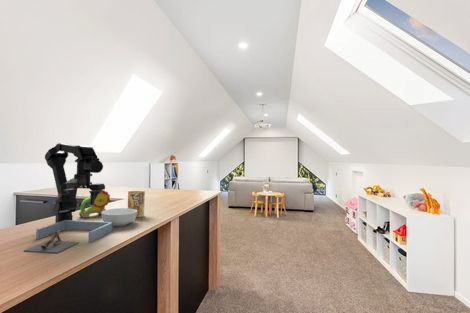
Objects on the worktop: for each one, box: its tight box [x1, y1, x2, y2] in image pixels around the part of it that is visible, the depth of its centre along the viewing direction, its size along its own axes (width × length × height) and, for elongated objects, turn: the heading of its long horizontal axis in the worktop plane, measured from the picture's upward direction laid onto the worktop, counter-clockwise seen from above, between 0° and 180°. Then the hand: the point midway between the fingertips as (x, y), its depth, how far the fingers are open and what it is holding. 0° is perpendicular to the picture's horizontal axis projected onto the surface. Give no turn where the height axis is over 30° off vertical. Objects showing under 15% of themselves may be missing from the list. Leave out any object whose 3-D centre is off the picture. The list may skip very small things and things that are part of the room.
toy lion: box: [78, 189, 111, 219], centre depth 145 cm, size 16×6×15 cm, turn 144°
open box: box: [35, 219, 114, 243], centre depth 109 cm, size 24×16×4 cm, turn 86°
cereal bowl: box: [101, 207, 137, 227], centre depth 127 cm, size 17×17×7 cm
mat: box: [23, 240, 80, 254], centre depth 93 cm, size 13×11×1 cm
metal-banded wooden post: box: [41, 231, 62, 250], centre depth 93 cm, size 2×8×4 cm, turn 176°
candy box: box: [127, 190, 146, 218], centre depth 145 cm, size 9×4×15 cm, turn 103°
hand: (82, 204), depth 116 cm, fingers open, 9 cm apart
